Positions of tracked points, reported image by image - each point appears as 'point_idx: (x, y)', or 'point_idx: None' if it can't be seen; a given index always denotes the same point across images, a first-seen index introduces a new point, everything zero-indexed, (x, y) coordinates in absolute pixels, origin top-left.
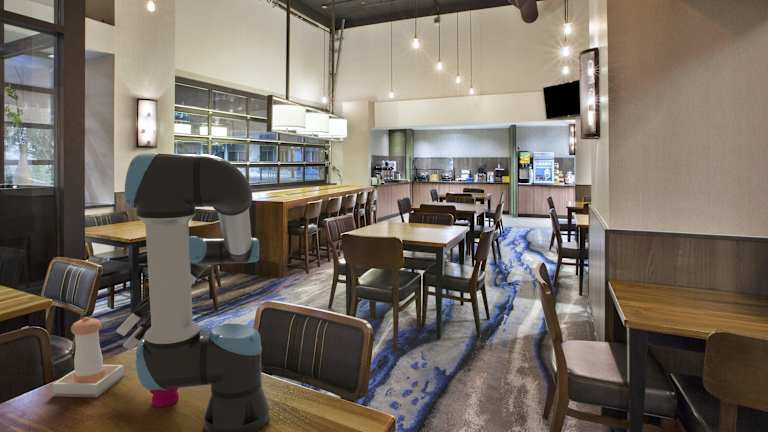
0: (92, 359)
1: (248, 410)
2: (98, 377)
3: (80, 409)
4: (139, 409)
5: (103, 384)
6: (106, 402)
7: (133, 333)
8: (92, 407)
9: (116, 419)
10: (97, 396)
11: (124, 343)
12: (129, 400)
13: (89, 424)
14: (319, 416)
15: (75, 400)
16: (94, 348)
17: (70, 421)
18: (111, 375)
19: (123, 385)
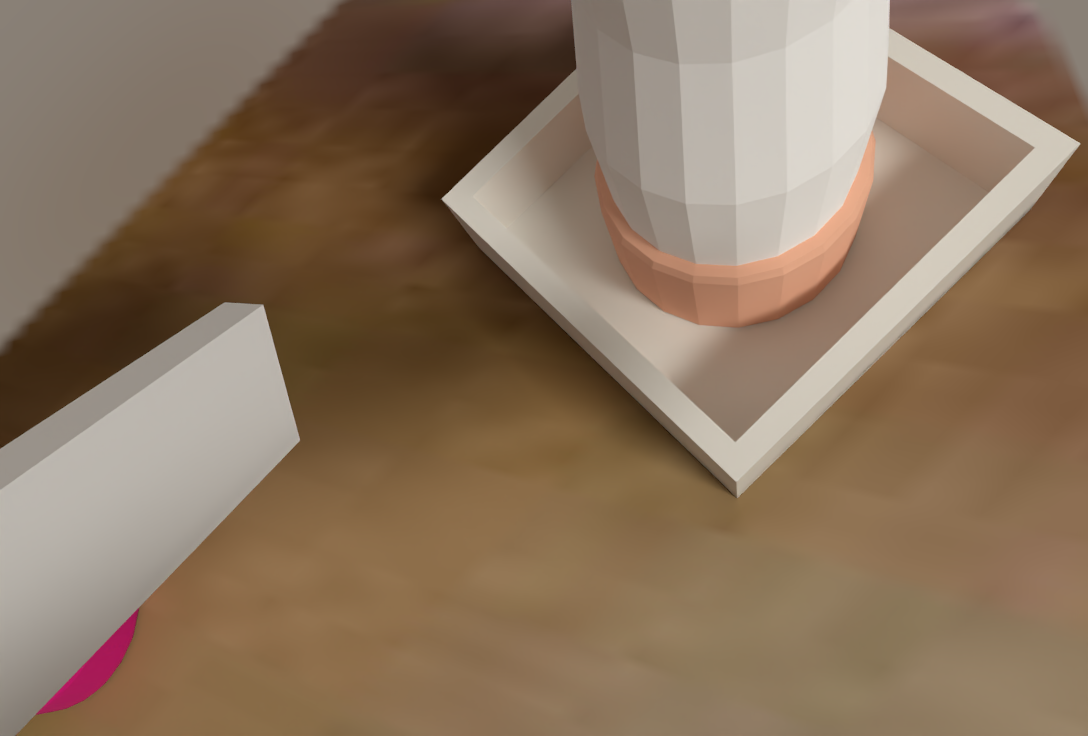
0: (577, 77)
1: None
2: (612, 236)
3: (386, 148)
4: None
5: (514, 273)
6: (356, 288)
7: (72, 435)
8: (356, 208)
9: (111, 300)
10: (481, 249)
11: (228, 319)
12: None
13: (177, 177)
14: None
15: None
16: (582, 10)
17: (286, 98)
18: (582, 337)
19: (543, 445)
